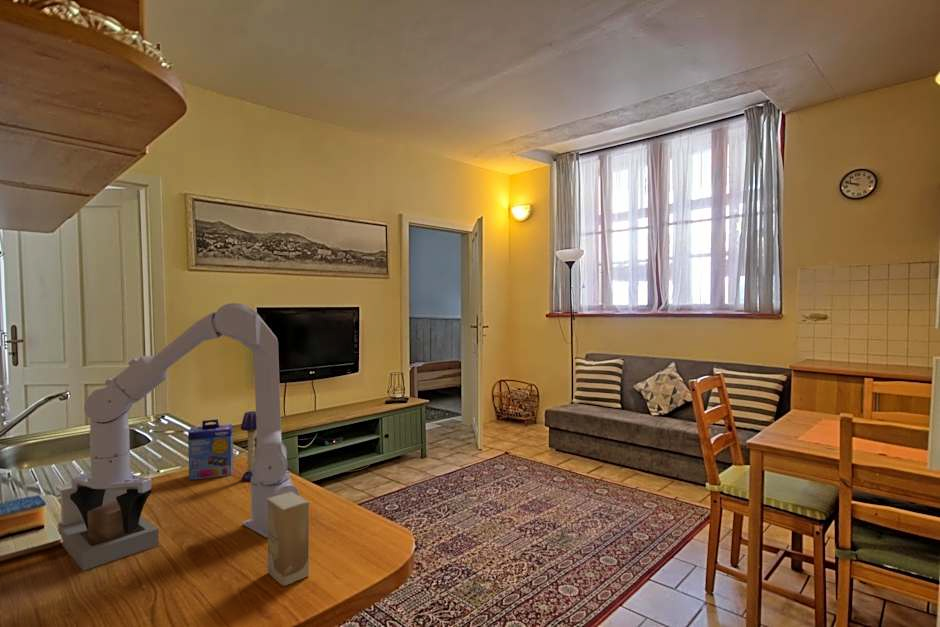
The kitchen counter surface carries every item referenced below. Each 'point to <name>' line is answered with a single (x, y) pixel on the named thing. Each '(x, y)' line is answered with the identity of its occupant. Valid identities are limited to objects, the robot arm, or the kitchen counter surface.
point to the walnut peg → (105, 524)
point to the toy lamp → (249, 441)
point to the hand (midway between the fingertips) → (112, 529)
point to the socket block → (105, 552)
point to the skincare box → (288, 538)
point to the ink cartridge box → (210, 450)
